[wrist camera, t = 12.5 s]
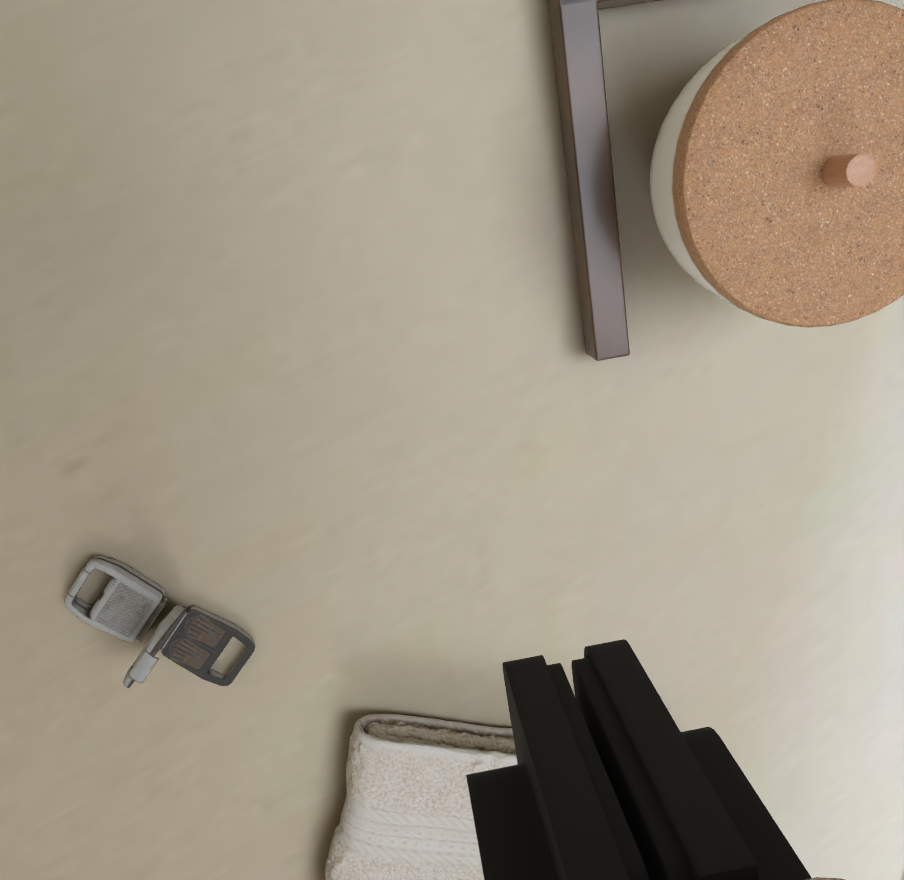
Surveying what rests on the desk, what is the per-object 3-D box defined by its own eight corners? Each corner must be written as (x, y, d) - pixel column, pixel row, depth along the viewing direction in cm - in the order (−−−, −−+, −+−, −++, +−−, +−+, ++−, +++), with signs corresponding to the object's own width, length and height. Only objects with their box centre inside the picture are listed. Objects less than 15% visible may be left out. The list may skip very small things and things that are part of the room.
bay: (544, -25, 33) (554, -37, 32) (980, -90, 34) (1013, -105, 32) (585, 353, 38) (596, 361, 36) (969, 287, 39) (998, 291, 37)
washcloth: (635, 925, 47) (653, 975, 44) (314, 897, 45) (311, 947, 42) (694, 744, 44) (718, 784, 41) (353, 702, 42) (353, 741, 39)
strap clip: (63, 598, 39) (28, 646, 35) (97, 546, 38) (64, 589, 34) (227, 685, 41) (212, 740, 37) (261, 637, 40) (249, 688, 36)
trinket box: (577, 109, 35) (651, 81, 26) (816, -10, 34) (974, -79, 25) (668, 341, 38) (762, 388, 29) (888, 235, 38) (1051, 249, 29)
